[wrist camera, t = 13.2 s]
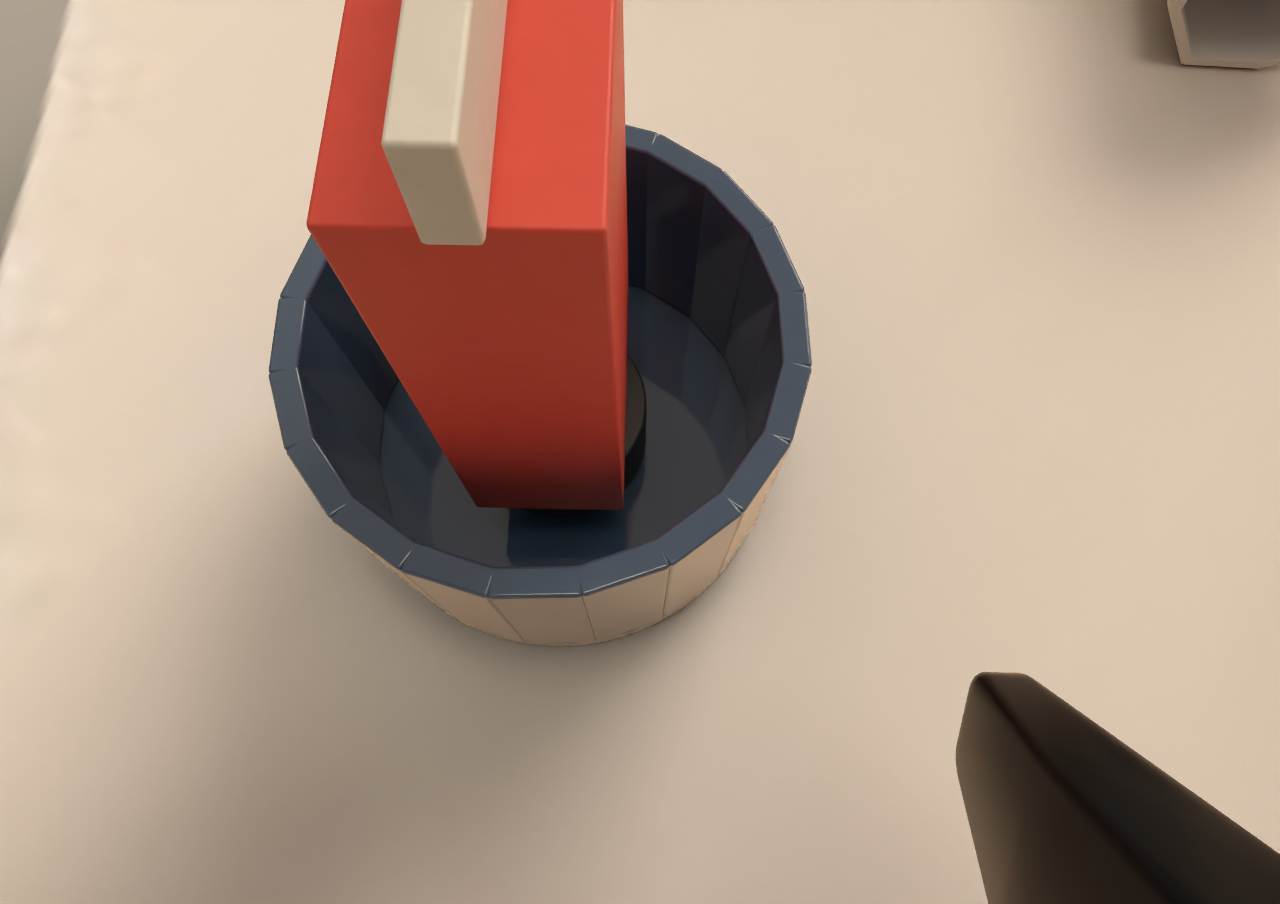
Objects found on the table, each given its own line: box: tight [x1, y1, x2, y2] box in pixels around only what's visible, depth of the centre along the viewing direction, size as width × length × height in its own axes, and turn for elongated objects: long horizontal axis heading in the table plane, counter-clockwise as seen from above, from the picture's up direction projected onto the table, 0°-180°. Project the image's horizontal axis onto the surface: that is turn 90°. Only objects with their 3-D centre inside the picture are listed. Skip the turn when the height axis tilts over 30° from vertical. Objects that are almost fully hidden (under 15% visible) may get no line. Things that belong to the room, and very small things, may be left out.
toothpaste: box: [307, 0, 647, 517], centre depth 13 cm, size 5×4×13 cm
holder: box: [269, 125, 812, 646], centre depth 17 cm, size 9×9×6 cm
